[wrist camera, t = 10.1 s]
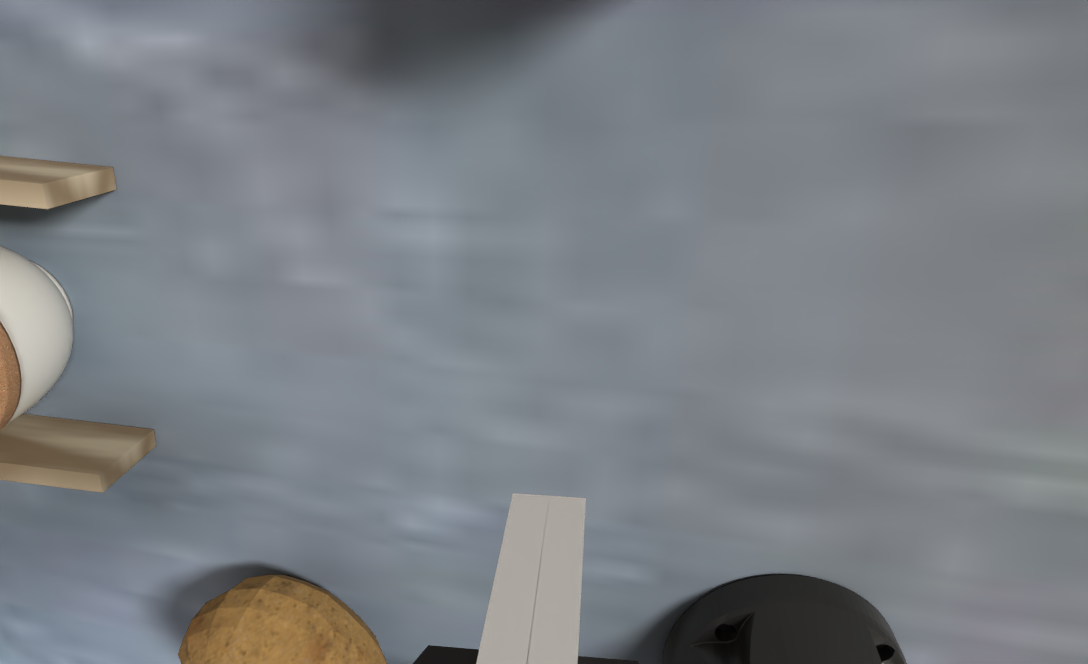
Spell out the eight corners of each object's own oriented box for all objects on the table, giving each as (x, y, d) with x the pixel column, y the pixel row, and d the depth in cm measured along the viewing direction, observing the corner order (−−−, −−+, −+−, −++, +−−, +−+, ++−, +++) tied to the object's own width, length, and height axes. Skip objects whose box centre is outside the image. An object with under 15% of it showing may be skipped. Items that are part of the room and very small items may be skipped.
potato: (360, 703, 51) (318, 814, 44) (202, 593, 48) (129, 691, 41) (443, 635, 48) (414, 742, 40) (279, 513, 45) (215, 604, 38)
